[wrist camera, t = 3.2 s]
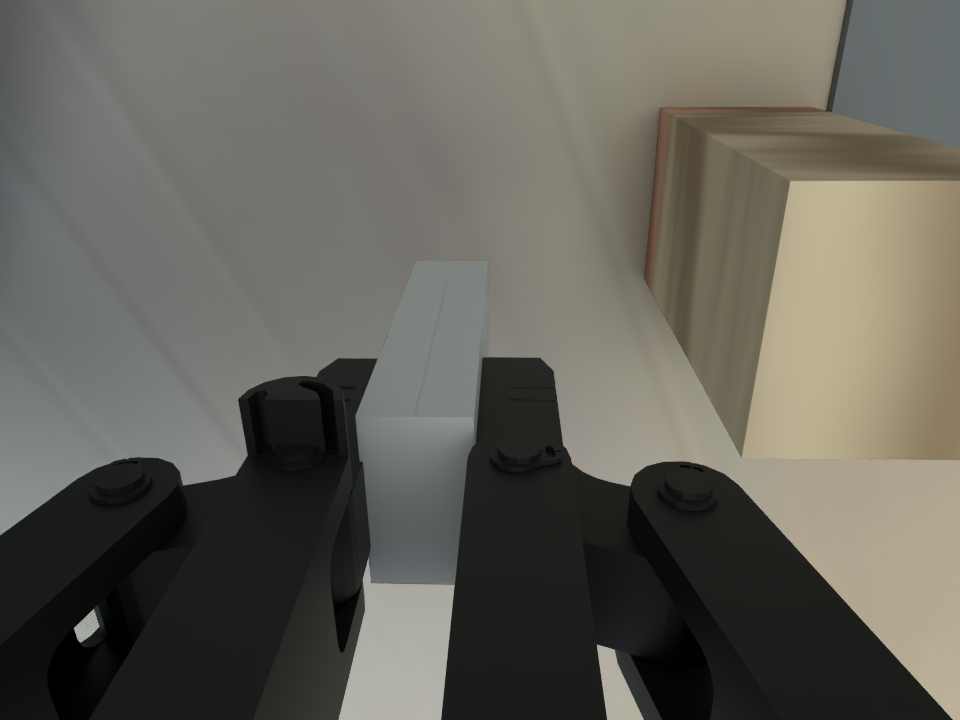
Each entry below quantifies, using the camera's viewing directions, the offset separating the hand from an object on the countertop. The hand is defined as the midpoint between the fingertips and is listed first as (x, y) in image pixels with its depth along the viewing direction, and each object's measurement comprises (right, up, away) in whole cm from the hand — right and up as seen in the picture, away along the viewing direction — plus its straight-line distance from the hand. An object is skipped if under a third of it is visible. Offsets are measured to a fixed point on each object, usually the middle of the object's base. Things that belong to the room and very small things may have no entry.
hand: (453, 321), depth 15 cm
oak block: (+9, +5, +10) cm, 14 cm away
